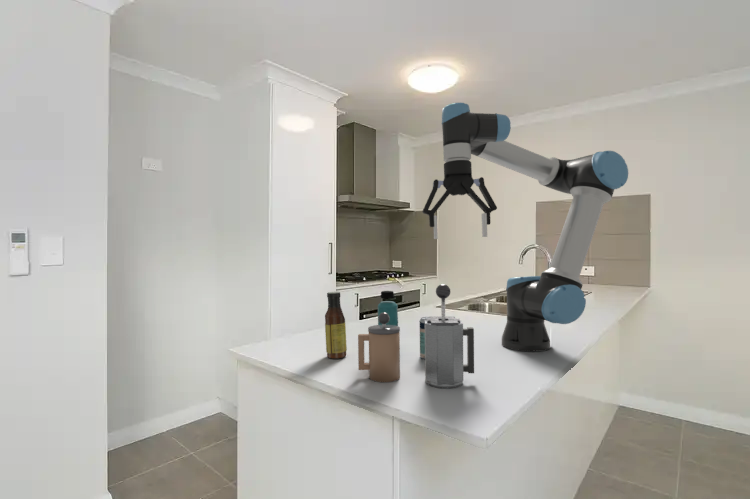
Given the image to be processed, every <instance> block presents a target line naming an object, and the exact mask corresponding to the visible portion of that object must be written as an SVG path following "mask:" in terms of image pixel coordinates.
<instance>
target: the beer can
mask: <svg viewBox="0 0 750 499" xmlns="http://www.w3.org/2000/svg"><path fill="white" fill-rule="evenodd" d="M430 317H431V316H423V317H420V320H419V358H421V359H422V360H425V320H427V319H430Z"/></svg>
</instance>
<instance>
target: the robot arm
mask: <svg viewBox="0 0 750 499" xmlns="http://www.w3.org/2000/svg"><path fill="white" fill-rule="evenodd" d="M441 113H442V114H441V128H442V130H441V131H442V149H443V151H442V152H443V153H442V154H443V161H444V164H443V180H440V179H439V180H438V179H434V180H433V182H432V189H431V191H430V194H429V195H428V196H429V197H427V198H428V199H427V200H426V202H425V204H424V207H423V209H422V214H424V215H427V216H428V219H429V227H430V228H433V239H434V240H439V236H438V216H437V215H435V214H436V212H437V211H438V210H439V208H440V207H441V206H442V204H443V203H444V202H445V201H446V200H447V198H448V197H449V195H451V196H464V195H467V196H469V197H470V199H471V200H472V201H473V202H474V203H475V204H476V205H477V206H478V207H479V208H480V210H481V211H483V213H481V234H482V237H481V238H486V237H487V238H488V225H491V214H492V212H494V211H496V210H497V209H498V207H497V205H496V203H495V201H494V199H493V197H492V196H491V194H490V192H489V190H488V189H487V187H486V185H485V179H484V177H482V176H481V177H479V178H473V175H472V174H473V173H472V171H473V170H472V161H471V159H472V155H473V156H475V157H479V158H481V159H483V160H486V161H489V162H491V163H494V164H496V165H498V166H501V167H503V168H506V169H509V170H511V171H513V172H517V173H519V174H522V175H524V176H527V177H529V178H531V179H534V180H537V181H538V183H539V185H541V186H544V187H546V188H549V189H551V190H555V191H558V192H560V193H564V194H568V195H572V200H571V203H570V205H569V209H568V212H567V214H566V218H565V220H564V221H565V222H564V224H563V227H562V230H561V232H560V235H559V238H558V241H557V244H556V247H555V250H554V253H553V256H552V259H551V262H550V264H549V268H547V269H546V270H544V271H542V272H541V274H540V275H533V276H532V275H531V276H515V277H509V278H508V279H507V280H506V287H505V288H506V323H505V326H504V329H503V333H502V335H501V345H502V346H503V347H505V348H507V349H511V350H514V351H522V352H543V351H547V350H548V351H549V349H550V348H551V339H550V336H549V333H548V330H547V327H546V325H545V321H547V322H549V323H552V324H559V325H568V324H571V323H574V322H576V321H577V320H579V318H580V317H581V316H582V315H583V313H584V311H585V308H586V306H587V305H586V304H587V302H586V301H587V300H586V298H585V297H586V296H585V293H584V291H583V290H582V289H583V284H584V283H583V282H582V281H581V278H580V275H581V273H582V269H583V267H584V265H585V262H586V257H587V255H588V251H589V248H590V246H591V243H592V241H593V237H594V234H595V231H596V228H597V226H598V223H599V219H600V217H601V216H600V215H601V213H602V210H603V207H604V204H607V203H608V202H610V201H611V200H612V199H613V195H614V192H615V190H618V189H620V188H621V187H623V186H625V184H626V183H627V181H628V179H629V168H628V164H627V163H626V161H625V158H624V157H623V156H622V155H621V154H619V153H618V152H617V151H614V150H604V151H597V152H595V153H592V154H588V155H585V156H581V157H578V158H577V157H576V158H574V159H559V158H558V157H554V156H553V157H550V158H548V157H545V156H543V155H542V154H541V155H540V154H538V153H537V152H534V151H531V150H529V149H526V148H523V147H521V146H519V145H516V144H514V143H511V142H509V141H507V140H506V139H508V137H509V135H510V133H511V130H512V129H511V126H512V125H511V120H510V118H509V116H507V115H506V114H500V113H481V112H479V113H477V112H471V110H470V105H469V104H468V103H465V102H453V103H450V104H446V105H445V106H444V107H443V108H442V112H441ZM473 185H475V186H476V187H478V189H479V191H480V193H481V195H482V197H483V198H484V200H485V202H486V203H485V202H484V201H483V200H482V199H481V198H480V196H479V195H478V194H477V193H476V192H475V191H474V189H473V188H472V187H473ZM441 186H443V187H444V188H445V191H444V192H443V194H442V195H441V197H440V198H439V199H438V200H437V202H436V203H435V204H434V206H432V209H431V210H429V209H430V208H431V205H432V203H433V201H434V198H435V196H436V193H437V191H438V189H440V188H441Z"/></svg>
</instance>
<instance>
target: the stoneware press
mask: <svg viewBox="0 0 750 499" xmlns="http://www.w3.org/2000/svg"><path fill="white" fill-rule="evenodd" d="M378 320H379V322H380V323H381V324H382V325H378V324H374V325H370V326H368V329H367V332H368V333H358V334H357V341H358V344H357V346H358V347H357V348H358V350H357V354H358V357H357V358H358V359H357V360H358V363H357V364H358V371H368V378H369V380H371V381H374V382H377V383H391V382H396V381H398V380H400V378H401V355H400V354H401V352H400V351H401V347H400V346H401V345H400V341H401V340H400V338H401V337H400V335H401V333H400V332H401V327H400V326H399V325H398V326H395V325H386V324H387V323H388V322H389V320H390V317H389V315H388V314H387V313H385V312H383V313H381V314H380V315H379V316H378V315H377V321H378ZM365 341H368V362H365Z"/></svg>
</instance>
